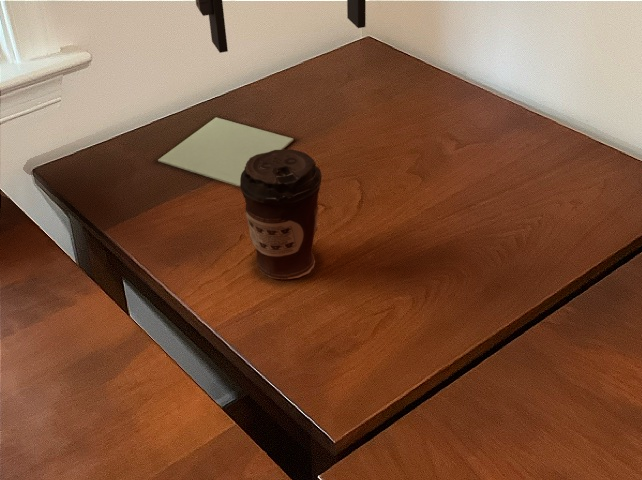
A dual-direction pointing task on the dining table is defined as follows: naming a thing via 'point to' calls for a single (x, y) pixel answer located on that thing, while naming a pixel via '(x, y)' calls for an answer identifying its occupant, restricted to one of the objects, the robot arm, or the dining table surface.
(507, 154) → the dining table surface
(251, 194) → the coffee cup
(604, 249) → the dining table surface
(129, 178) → the dining table surface
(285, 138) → the mat
